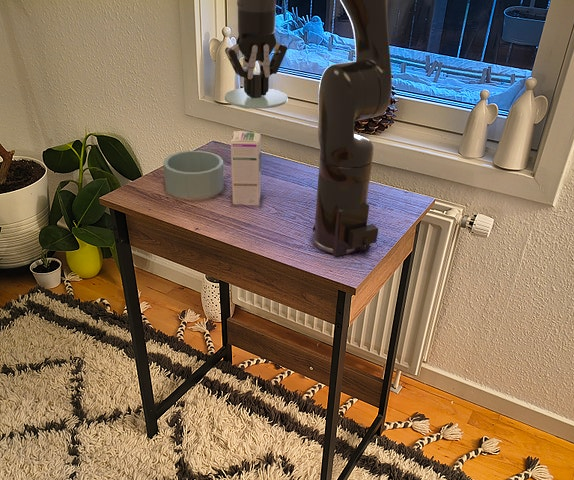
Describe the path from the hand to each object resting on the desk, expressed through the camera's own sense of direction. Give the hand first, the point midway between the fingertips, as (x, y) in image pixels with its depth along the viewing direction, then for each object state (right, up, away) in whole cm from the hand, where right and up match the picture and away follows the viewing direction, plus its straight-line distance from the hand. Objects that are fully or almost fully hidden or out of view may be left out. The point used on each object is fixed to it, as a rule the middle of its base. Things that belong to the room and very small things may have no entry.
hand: (256, 94), depth 124 cm
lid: (0, -1, 0) cm, 1 cm away
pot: (-14, -19, +4) cm, 24 cm away
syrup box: (-2, -23, 0) cm, 23 cm away
